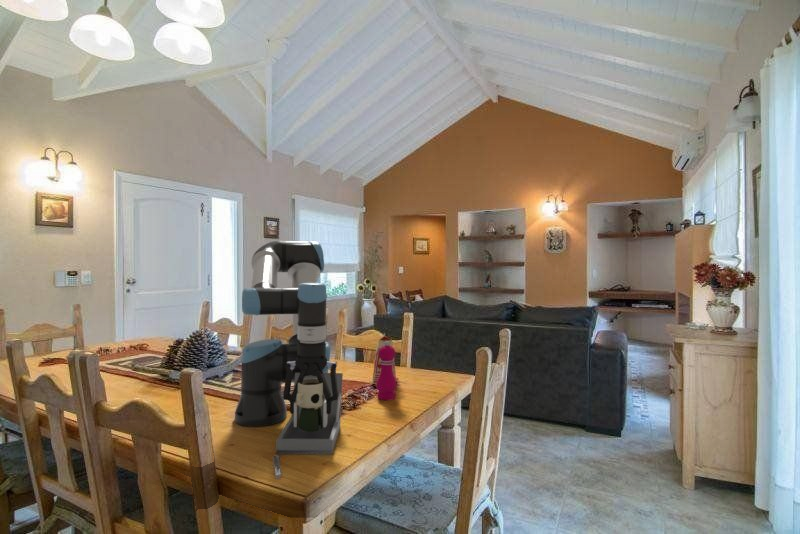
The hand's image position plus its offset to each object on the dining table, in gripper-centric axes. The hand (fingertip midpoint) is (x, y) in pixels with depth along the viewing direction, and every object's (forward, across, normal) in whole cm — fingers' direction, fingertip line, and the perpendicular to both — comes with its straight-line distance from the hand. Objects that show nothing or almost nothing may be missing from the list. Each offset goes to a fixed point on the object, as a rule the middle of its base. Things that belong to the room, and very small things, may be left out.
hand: (310, 425), depth 118 cm
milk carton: (+4, +19, +55) cm, 58 cm away
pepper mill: (+4, +20, +36) cm, 41 cm away
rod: (+4, -5, -16) cm, 17 cm away
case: (+4, 0, +2) cm, 5 cm away
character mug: (+1, 0, 0) cm, 1 cm away
